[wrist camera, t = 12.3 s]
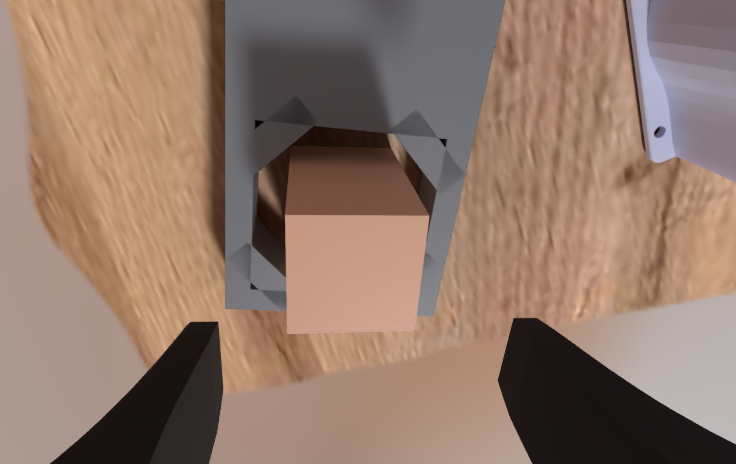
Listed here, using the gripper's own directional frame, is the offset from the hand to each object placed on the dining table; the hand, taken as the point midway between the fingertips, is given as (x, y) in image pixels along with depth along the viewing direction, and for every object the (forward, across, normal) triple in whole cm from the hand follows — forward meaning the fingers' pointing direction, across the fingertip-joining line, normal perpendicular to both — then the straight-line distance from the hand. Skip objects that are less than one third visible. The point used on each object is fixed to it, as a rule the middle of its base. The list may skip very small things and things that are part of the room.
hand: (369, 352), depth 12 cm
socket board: (+10, 0, -4) cm, 11 cm away
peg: (+10, 0, 0) cm, 10 cm away
